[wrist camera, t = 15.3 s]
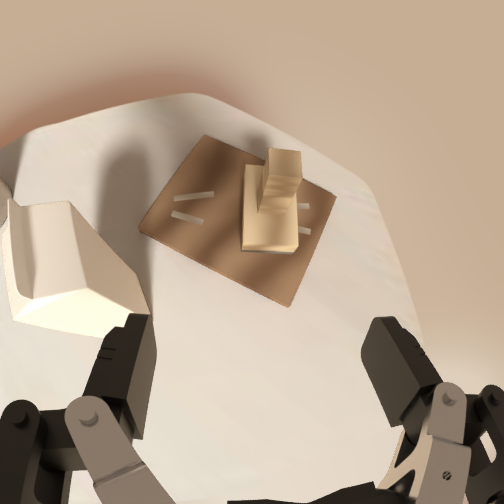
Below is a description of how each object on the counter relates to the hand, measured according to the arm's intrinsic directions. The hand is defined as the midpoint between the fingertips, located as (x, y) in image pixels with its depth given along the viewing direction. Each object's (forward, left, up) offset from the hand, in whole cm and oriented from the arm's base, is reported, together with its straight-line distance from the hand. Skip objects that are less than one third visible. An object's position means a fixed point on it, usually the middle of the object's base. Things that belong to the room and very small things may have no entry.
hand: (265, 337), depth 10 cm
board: (-6, +15, -24) cm, 29 cm away
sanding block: (-3, +16, -23) cm, 28 cm away
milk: (-13, -2, -24) cm, 27 cm away
